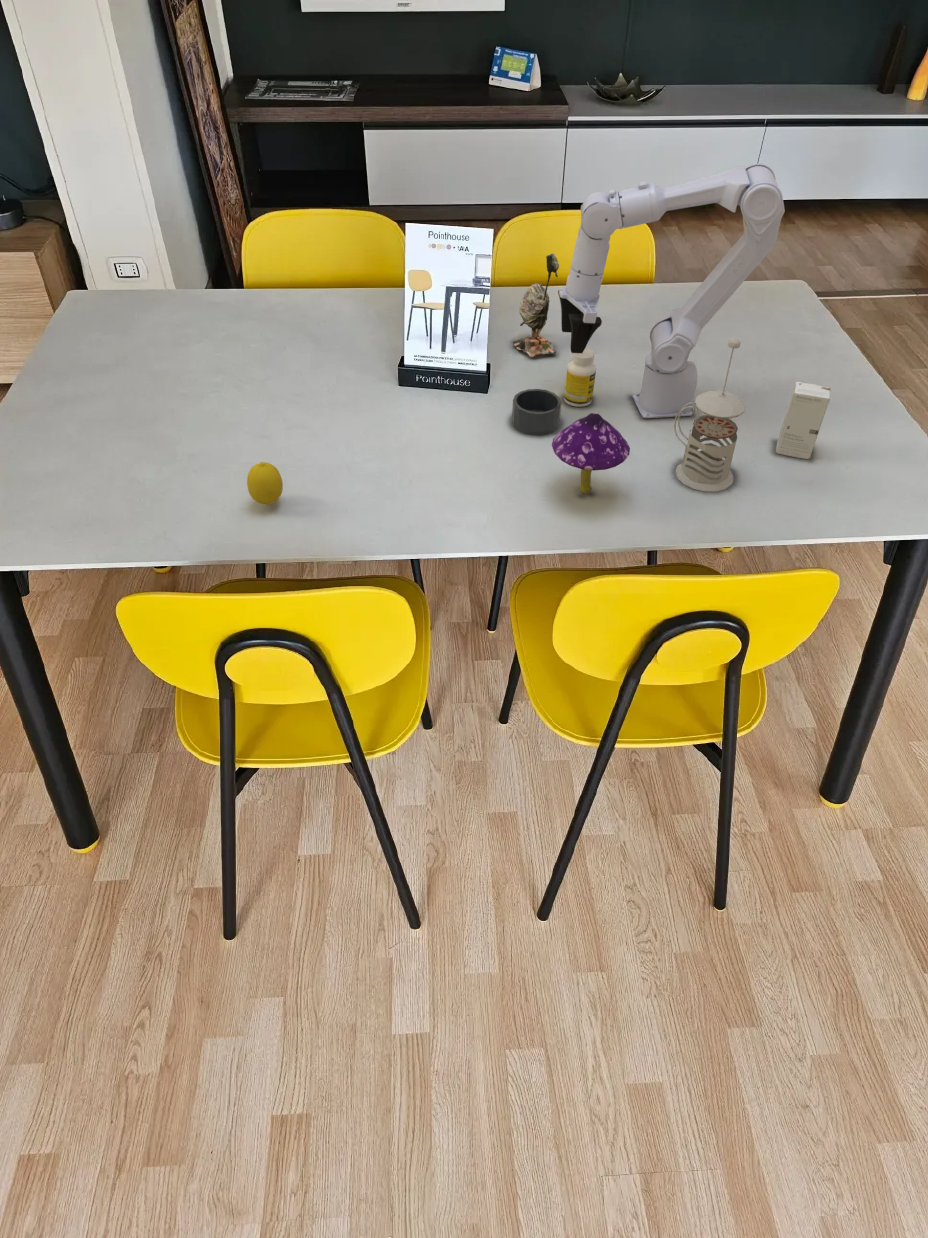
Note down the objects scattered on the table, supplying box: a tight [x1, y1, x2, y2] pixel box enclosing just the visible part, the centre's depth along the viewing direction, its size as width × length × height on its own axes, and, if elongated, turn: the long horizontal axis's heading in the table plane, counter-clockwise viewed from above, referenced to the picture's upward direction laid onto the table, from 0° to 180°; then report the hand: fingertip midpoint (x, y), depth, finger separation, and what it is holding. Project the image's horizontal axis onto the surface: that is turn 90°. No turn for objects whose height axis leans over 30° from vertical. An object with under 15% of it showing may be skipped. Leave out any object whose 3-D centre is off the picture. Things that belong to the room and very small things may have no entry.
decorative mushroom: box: [551, 412, 631, 495], centre depth 152 cm, size 12×12×15 cm
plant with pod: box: [512, 253, 560, 358], centre depth 188 cm, size 8×11×20 cm
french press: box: [673, 337, 747, 492], centre depth 153 cm, size 10×12×25 cm
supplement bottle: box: [563, 347, 597, 408], centre depth 176 cm, size 5×5×10 cm
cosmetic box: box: [775, 381, 832, 460], centre depth 164 cm, size 6×4×12 cm
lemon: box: [246, 461, 284, 506], centre depth 151 cm, size 6×6×8 cm
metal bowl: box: [511, 388, 562, 436], centre depth 171 cm, size 9×9×4 cm
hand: (572, 341), depth 171 cm, fingers open, 7 cm apart
